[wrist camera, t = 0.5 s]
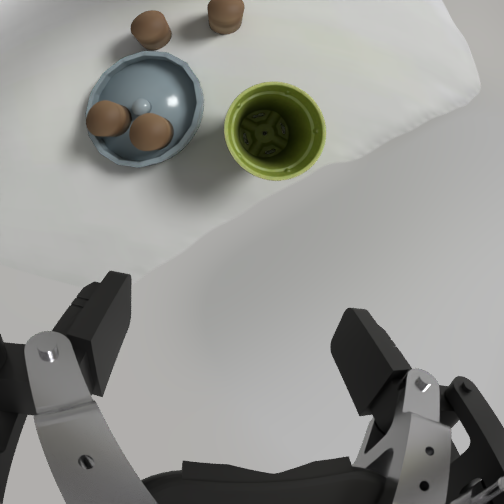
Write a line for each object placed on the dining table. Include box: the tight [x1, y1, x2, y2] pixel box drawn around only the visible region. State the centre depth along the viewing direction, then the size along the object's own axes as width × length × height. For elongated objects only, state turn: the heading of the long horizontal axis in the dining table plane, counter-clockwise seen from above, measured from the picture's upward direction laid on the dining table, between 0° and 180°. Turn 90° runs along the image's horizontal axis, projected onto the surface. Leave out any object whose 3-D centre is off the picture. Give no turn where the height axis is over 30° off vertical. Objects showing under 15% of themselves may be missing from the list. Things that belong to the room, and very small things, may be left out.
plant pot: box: [224, 82, 326, 181], centre depth 27 cm, size 9×9×9 cm
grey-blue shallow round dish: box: [86, 51, 204, 168], centre depth 27 cm, size 14×14×3 cm
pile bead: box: [208, 0, 244, 34], centre depth 23 cm, size 4×4×4 cm
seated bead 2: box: [129, 113, 174, 151], centre depth 27 cm, size 4×4×4 cm
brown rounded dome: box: [131, 10, 172, 50], centre depth 23 cm, size 4×4×4 cm
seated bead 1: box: [86, 100, 132, 137], centre depth 26 cm, size 4×4×4 cm
